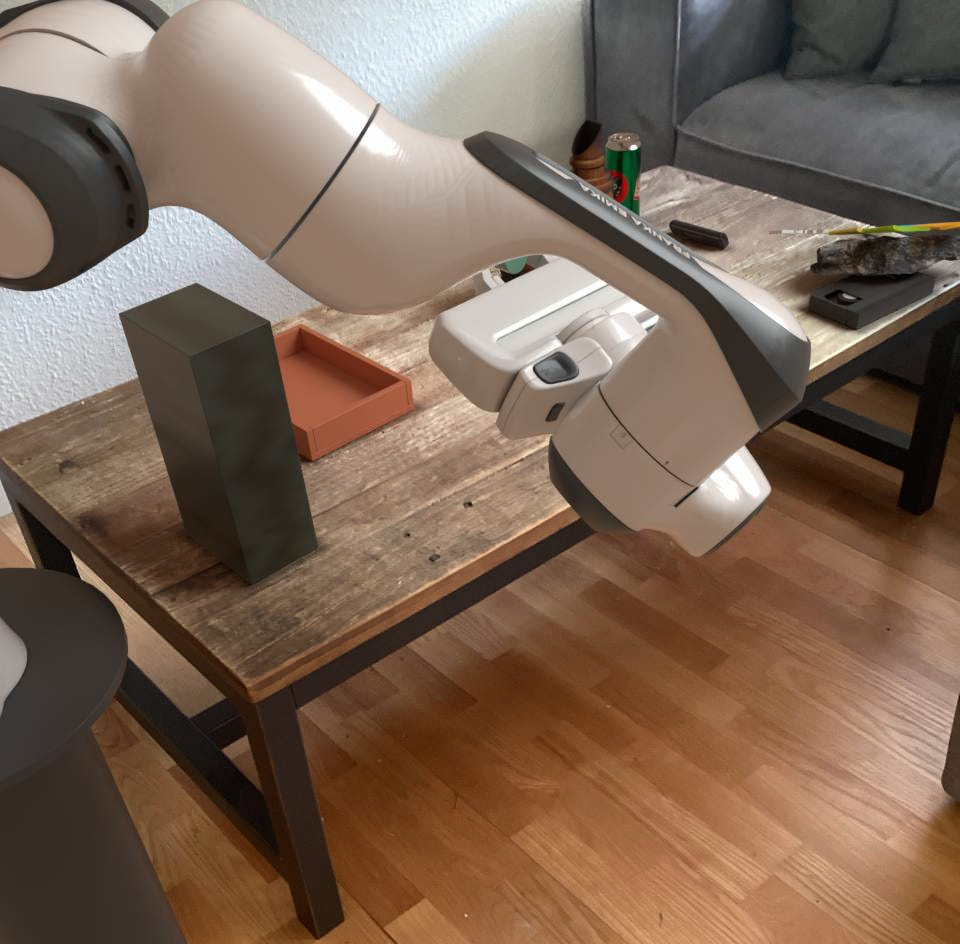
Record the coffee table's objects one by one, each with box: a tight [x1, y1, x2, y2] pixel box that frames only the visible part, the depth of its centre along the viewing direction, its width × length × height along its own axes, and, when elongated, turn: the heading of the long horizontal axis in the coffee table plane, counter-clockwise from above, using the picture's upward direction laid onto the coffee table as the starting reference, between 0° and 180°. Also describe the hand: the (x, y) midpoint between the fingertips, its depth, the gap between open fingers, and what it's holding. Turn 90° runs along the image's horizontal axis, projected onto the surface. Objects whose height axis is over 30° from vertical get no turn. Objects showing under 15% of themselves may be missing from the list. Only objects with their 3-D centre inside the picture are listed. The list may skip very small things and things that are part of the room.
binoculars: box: [499, 118, 613, 283], centre depth 141 cm, size 18×8×20 cm, turn 126°
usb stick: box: [668, 219, 730, 249], centre depth 156 cm, size 10×3×2 cm
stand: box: [118, 282, 319, 585], centre depth 103 cm, size 8×12×24 cm, turn 42°
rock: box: [809, 234, 960, 276], centre depth 140 cm, size 9×22×4 cm, turn 95°
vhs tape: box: [807, 271, 937, 330], centre depth 139 cm, size 14×8×2 cm, turn 126°
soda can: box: [604, 132, 642, 217], centre depth 160 cm, size 5×5×12 cm
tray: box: [273, 323, 415, 462], centre depth 130 cm, size 15×22×4 cm
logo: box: [768, 221, 960, 236], centre depth 141 cm, size 23×1×20 cm
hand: (487, 241), depth 86 cm, fingers closed on bottle, 2 cm apart
